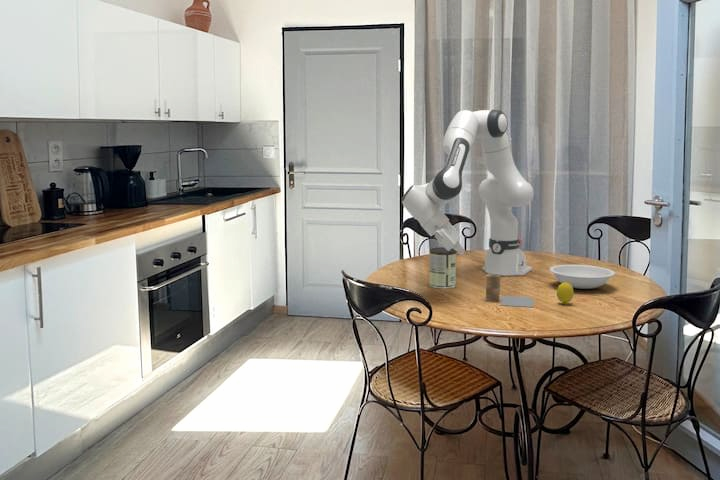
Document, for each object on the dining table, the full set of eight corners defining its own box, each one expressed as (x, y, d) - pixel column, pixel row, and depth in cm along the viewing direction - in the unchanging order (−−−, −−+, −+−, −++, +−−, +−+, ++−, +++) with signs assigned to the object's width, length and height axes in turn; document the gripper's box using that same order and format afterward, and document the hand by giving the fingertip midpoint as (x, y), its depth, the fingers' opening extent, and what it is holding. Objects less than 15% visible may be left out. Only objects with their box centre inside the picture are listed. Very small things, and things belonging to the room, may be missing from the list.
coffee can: (432, 282, 295) (433, 246, 293) (458, 284, 292) (459, 248, 289) (425, 287, 285) (426, 250, 283) (452, 289, 282) (453, 252, 280)
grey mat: (500, 305, 259) (500, 304, 259) (501, 296, 272) (501, 295, 272) (533, 307, 257) (533, 306, 256) (533, 297, 270) (533, 297, 270)
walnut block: (485, 301, 265) (486, 276, 263) (486, 298, 269) (487, 273, 267) (498, 302, 264) (499, 276, 262) (499, 299, 268) (500, 274, 266)
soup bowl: (613, 297, 272) (614, 279, 271) (545, 291, 280) (546, 274, 279) (615, 283, 294) (616, 267, 293) (552, 278, 303) (553, 262, 301)
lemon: (554, 302, 264) (555, 280, 262) (569, 302, 264) (570, 279, 263) (559, 306, 258) (560, 283, 257) (575, 306, 259) (576, 283, 257)
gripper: (440, 222, 255) (467, 252, 255) (446, 215, 275) (472, 243, 275) (426, 234, 257) (454, 264, 257) (434, 227, 277) (459, 254, 276)
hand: (463, 253), depth 266 cm, fingers closed
